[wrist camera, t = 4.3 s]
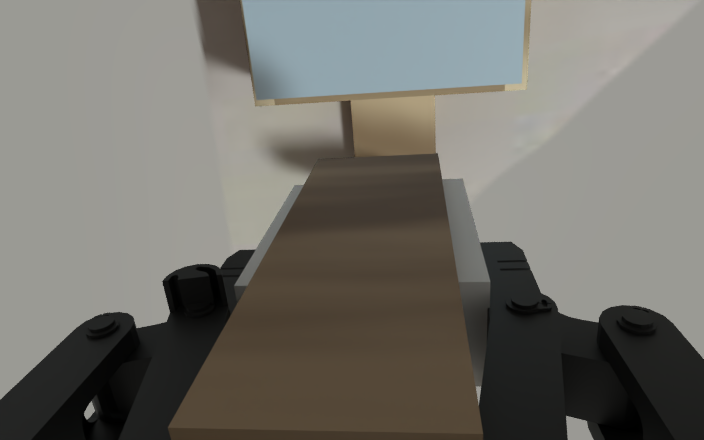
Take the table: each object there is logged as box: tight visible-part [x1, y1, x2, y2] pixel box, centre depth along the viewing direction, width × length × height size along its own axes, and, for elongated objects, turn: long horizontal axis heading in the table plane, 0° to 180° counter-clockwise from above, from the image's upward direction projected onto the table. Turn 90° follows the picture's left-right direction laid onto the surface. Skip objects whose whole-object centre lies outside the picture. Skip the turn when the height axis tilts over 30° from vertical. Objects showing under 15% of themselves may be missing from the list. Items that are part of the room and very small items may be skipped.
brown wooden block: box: [168, 153, 483, 440], centre depth 13 cm, size 4×4×12 cm
